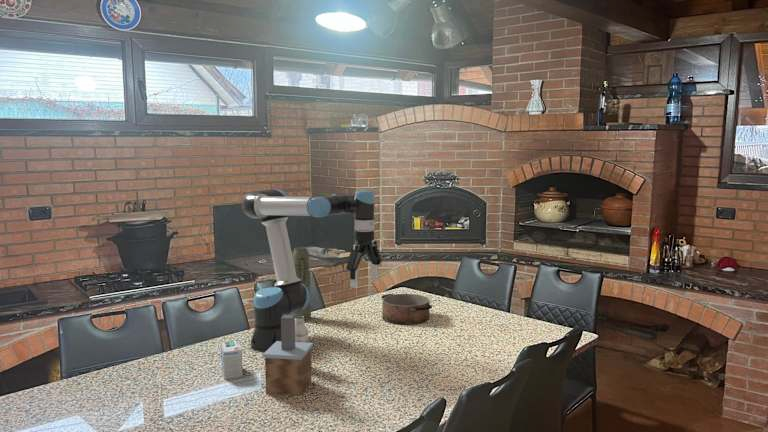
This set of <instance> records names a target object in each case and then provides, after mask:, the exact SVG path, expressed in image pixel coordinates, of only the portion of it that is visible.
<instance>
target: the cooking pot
mask: <svg viewBox="0 0 768 432" xmlns="http://www.w3.org/2000/svg"><path fill="white" fill-rule="evenodd" d="M381 299H382V321H384V322H385V323H387V324H392V325H397V326H414V325H420V324H424V323H427V322H428V321H429V320H430V310H431V309H432V308H433V304H430V301H431V300H430V298H428V297H427V296H425V295H421V294H417V293H415V294H414V293H396V294H395V293H389V294H382V296H381Z"/></svg>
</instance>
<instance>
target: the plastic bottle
mask: <svg viewBox="0 0 768 432" xmlns="http://www.w3.org/2000/svg"><path fill="white" fill-rule="evenodd" d="M308 336H309V330H308V327H307V325H305V321H304V317H303V316H296V317H295V342H303V343H308Z"/></svg>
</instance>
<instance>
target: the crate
mask: <svg viewBox="0 0 768 432" xmlns="http://www.w3.org/2000/svg"><path fill="white" fill-rule="evenodd" d="M264 364H265V365H264V371H265V372H264V373H265V394H266V395H281V396H282V395H283V396H302V395H303V394H304V393H305V391H306V389H307V388H308V387H309V385H310V384H311V382H312V348H311V349H310V350H309V351H308V353H307V354H306V355H305V356H304V357H303V359H302V360H294V359H277V358H264Z"/></svg>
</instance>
